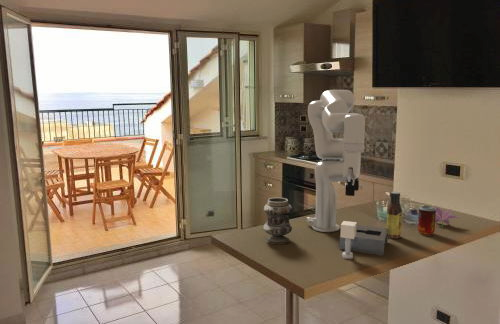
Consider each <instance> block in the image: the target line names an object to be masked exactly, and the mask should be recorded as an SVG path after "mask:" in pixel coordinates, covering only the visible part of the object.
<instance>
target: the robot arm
mask: <svg viewBox="0 0 500 324" xmlns="http://www.w3.org/2000/svg"><path fill="white" fill-rule="evenodd" d="M354 105H355V95H354V93H353V92H352V91H351V90H349V89H329V90H325V91H324V92H322V94H321V95H320V99H319V100H318V99H317V100H313V101H311V102H309V104H308V105H307V116H308V122H309V124H310V126H311V128H312V132H313V138H314V149H315V153H316V156H317V158H319V159H322V160H323V161H319V162H317V163H316V164H315V166H314V178H315V216H314V217H309V216H307V217H306V222H307V223H312V224H311V228H312V229H313V230H314V231H317V232H322V233H334V232H337V231H339V230H340V225H339V224H337V209H338V208H337V207H338V191H337V188H336V187H335V186H334V185H333V183H337V182H339V183H340V182H341V183H342V182H345V195H344V196H349V197H354V196H355V194H356V193H355V191H356V192H357V191H359V190H360V189H359V186H360V185H359V182H360V180H359V177H360V175H361V163H362V153H364V152H365V131H366V117H365V115H363V114H360V113H356V112H350V111H351V110H352V109H353V108H354ZM333 133H334V134H335V133H343V138H335V137H333Z"/></svg>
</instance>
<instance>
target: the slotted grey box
mask: <svg viewBox="0 0 500 324" xmlns="http://www.w3.org/2000/svg"><path fill="white" fill-rule="evenodd" d="M340 236H341V233H340V235H339V250H341V251H345V240H346V238H342V237H340ZM388 241H389V238H388V229H387V228H386V227H385V228H384V227H377V226H368V225H361V224H360V225H359V224H357V225H356V236H355V238H354V239H351V249H350V252H356V253H362V254H369V255H370V254H371V255H375V256H376V255H377V256H384V255H385V244H388Z"/></svg>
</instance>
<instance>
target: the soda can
mask: <svg viewBox="0 0 500 324" xmlns="http://www.w3.org/2000/svg"><path fill="white" fill-rule="evenodd" d="M435 218H436V209H435V206H430V205H422V206H419V207H418V217H417V219H418V220H417V231H418V234H420V235H421V236H426V237H430V236H433V235H434V233H435V230H436V223H435Z"/></svg>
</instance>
